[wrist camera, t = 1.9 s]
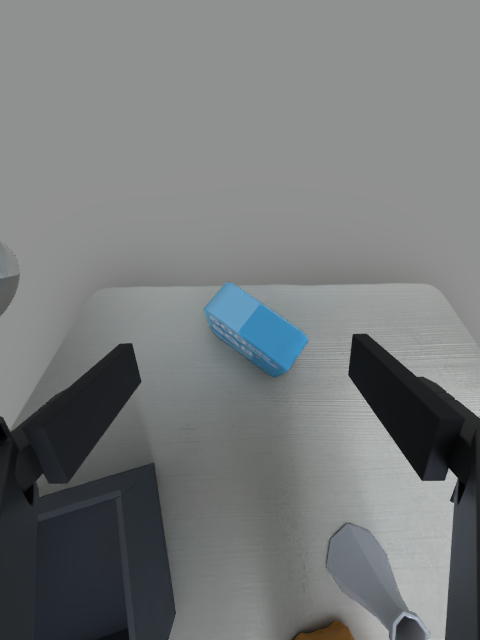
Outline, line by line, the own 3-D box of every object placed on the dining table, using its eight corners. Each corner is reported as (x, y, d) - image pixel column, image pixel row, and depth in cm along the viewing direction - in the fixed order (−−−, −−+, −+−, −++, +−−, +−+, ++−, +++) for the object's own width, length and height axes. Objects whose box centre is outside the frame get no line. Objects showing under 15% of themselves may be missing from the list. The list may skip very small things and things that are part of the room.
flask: (368, 612, 28) (436, 726, 18) (315, 567, 29) (352, 652, 20) (394, 550, 30) (468, 624, 20) (343, 510, 31) (389, 561, 21)
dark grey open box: (23, 501, 31) (-67, 546, 22) (154, 462, 32) (120, 489, 23) (23, 668, 26) (-92, 813, 17) (175, 613, 28) (144, 721, 19)
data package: (212, 332, 38) (200, 305, 27) (229, 311, 39) (225, 277, 28) (273, 378, 36) (289, 371, 24) (290, 355, 37) (313, 337, 25)
